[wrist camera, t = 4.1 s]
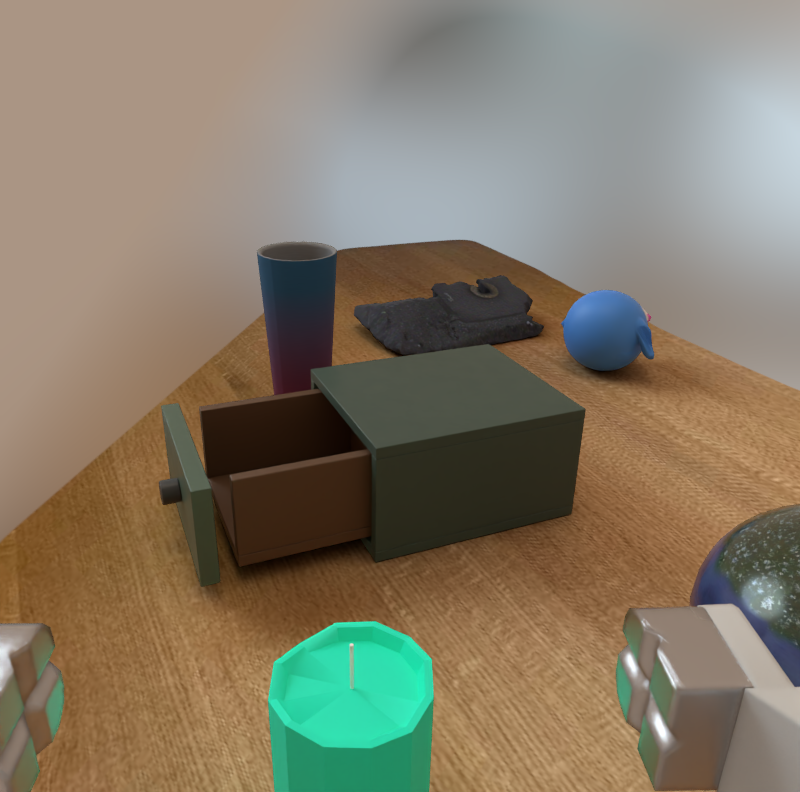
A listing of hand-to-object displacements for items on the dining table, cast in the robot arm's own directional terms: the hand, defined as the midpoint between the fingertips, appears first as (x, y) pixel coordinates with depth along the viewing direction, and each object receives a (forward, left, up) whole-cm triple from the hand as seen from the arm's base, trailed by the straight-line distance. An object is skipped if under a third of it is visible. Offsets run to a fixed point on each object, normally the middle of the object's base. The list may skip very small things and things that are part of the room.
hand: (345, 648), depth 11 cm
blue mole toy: (-33, +65, -23) cm, 77 cm away
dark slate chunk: (-53, +60, -23) cm, 83 cm away
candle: (-9, +8, -23) cm, 26 cm away
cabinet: (-28, +32, -23) cm, 48 cm away
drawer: (-32, +20, -22) cm, 44 cm away
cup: (-46, +33, -23) cm, 61 cm away
